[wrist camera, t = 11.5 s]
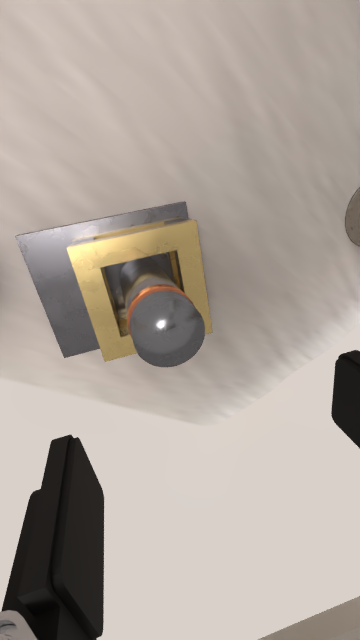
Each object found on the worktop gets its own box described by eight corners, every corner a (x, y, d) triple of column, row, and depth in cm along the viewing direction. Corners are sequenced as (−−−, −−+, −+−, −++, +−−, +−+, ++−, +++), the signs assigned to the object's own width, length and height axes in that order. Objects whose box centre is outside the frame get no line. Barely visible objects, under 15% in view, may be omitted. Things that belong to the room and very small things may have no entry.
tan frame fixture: (182, 201, 29) (202, 202, 24) (201, 317, 35) (221, 341, 29) (18, 235, 27) (-6, 245, 21) (65, 353, 33) (56, 387, 27)
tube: (158, 251, 30) (200, 289, 17) (167, 294, 32) (211, 356, 19) (113, 261, 29) (122, 309, 16) (125, 305, 31) (141, 377, 18)
